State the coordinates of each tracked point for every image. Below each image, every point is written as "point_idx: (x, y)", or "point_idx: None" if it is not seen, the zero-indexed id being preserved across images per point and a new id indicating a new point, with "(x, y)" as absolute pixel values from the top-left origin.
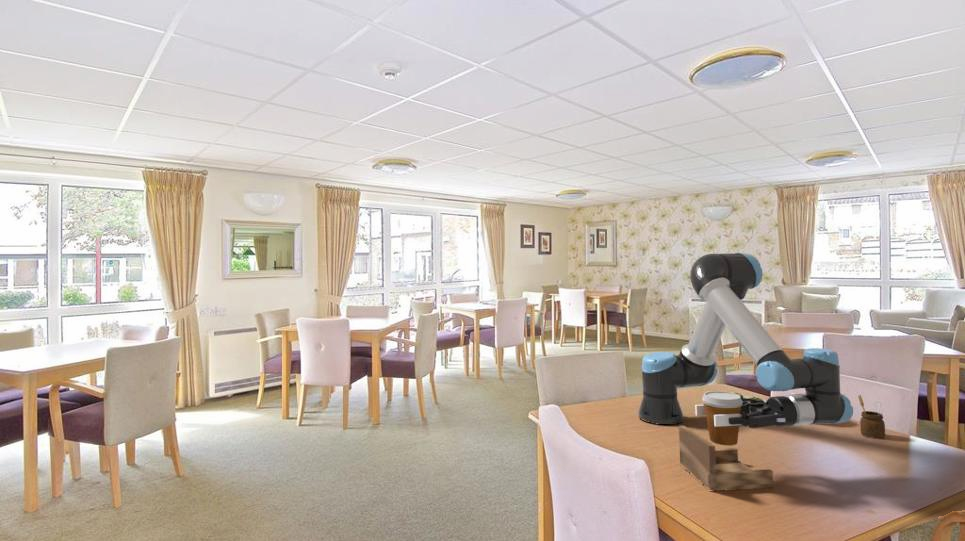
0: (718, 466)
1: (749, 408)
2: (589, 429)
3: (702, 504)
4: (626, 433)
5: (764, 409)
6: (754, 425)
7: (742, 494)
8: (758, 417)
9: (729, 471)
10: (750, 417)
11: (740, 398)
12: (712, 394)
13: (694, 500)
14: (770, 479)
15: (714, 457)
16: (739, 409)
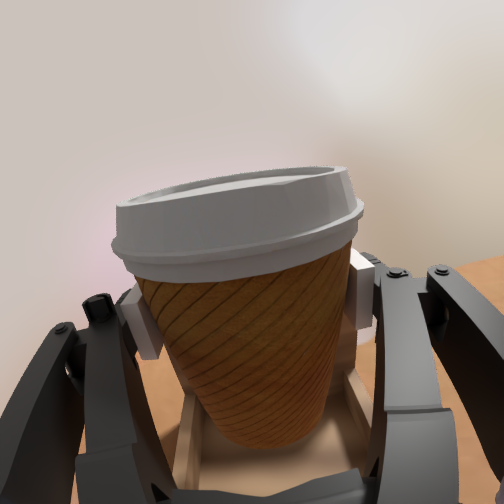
0: (328, 460)
1: (500, 485)
2: (471, 270)
3: (157, 379)
4: (491, 303)
5: (78, 493)
6: (67, 369)
7: (168, 461)
8: (38, 353)
9: (287, 479)
10: (63, 324)
11: (126, 214)
12: (287, 178)
13: (174, 374)
14: None
15: (170, 357)
16: (142, 290)
